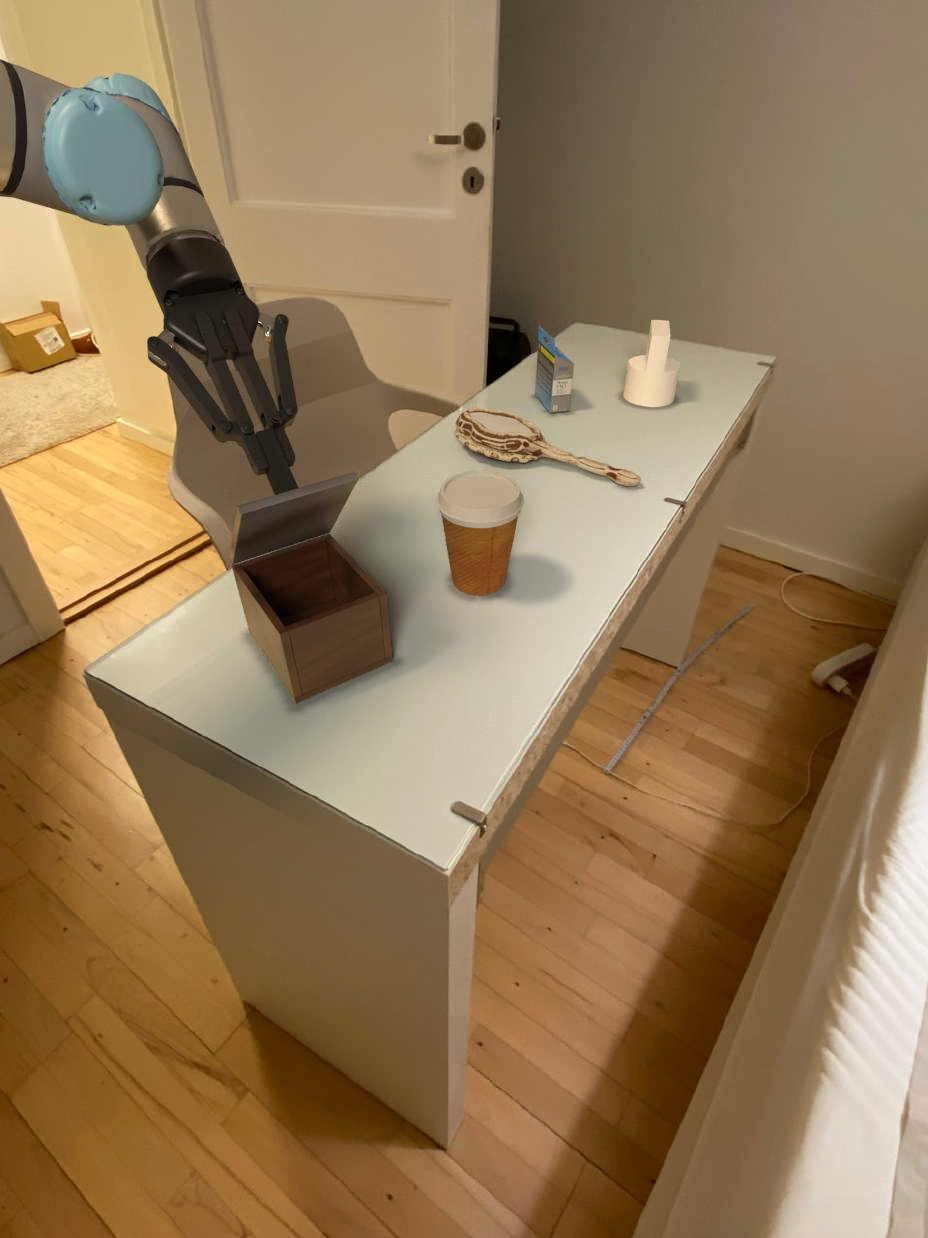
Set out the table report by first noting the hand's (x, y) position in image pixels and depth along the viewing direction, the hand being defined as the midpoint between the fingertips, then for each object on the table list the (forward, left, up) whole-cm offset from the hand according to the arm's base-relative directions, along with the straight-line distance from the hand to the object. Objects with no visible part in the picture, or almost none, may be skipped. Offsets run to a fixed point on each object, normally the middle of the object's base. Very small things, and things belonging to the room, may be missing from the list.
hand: (291, 502), depth 61 cm
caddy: (0, -1, -17) cm, 17 cm away
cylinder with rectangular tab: (+55, +61, -17) cm, 84 cm away
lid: (0, +1, -3) cm, 3 cm away
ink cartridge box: (+37, +60, -17) cm, 73 cm away
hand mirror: (+32, +38, -17) cm, 52 cm away
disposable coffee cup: (+18, +9, -17) cm, 27 cm away
